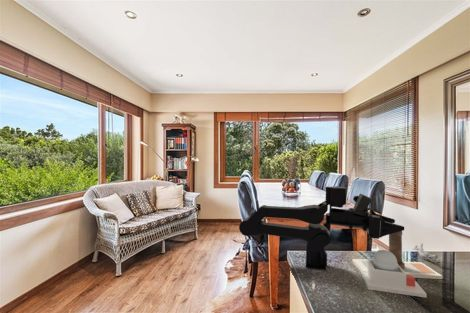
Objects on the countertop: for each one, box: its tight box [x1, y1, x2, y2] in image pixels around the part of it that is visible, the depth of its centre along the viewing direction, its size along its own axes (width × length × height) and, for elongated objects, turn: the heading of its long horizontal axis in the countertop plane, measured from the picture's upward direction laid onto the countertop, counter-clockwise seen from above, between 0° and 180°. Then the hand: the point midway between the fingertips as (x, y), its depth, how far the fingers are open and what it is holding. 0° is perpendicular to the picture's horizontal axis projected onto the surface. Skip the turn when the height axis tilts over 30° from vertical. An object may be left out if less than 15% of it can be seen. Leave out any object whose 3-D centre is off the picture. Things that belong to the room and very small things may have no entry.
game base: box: [361, 258, 428, 298], centre depth 71 cm, size 14×9×6 cm, turn 72°
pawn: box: [388, 231, 405, 269], centre depth 81 cm, size 5×5×13 cm
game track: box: [352, 258, 444, 280], centre depth 81 cm, size 23×10×1 cm, turn 82°
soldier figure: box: [412, 242, 441, 264], centre depth 89 cm, size 8×5×12 cm
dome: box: [373, 249, 397, 272], centre depth 71 cm, size 6×6×6 cm
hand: (399, 224), depth 76 cm, fingers open, 9 cm apart
